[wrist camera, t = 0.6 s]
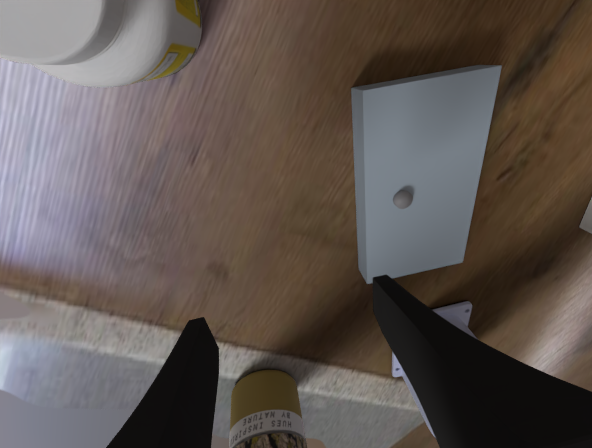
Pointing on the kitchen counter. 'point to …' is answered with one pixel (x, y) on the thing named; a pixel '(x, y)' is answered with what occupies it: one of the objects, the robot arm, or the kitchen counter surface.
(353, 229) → the kitchen counter surface
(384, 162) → the door
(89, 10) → the supplement bottle
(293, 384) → the paper tube
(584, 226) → the side panel
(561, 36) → the kitchen counter surface
